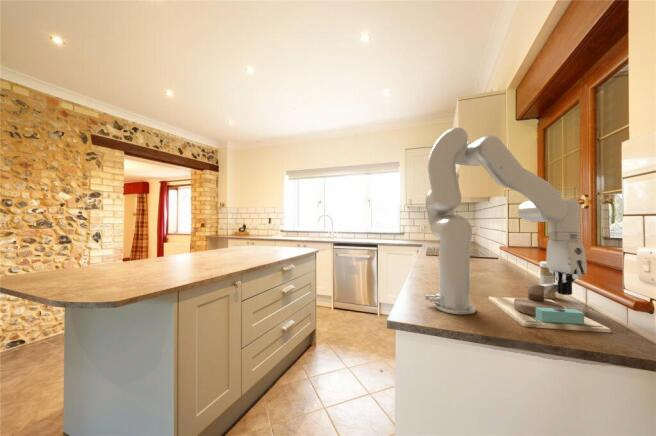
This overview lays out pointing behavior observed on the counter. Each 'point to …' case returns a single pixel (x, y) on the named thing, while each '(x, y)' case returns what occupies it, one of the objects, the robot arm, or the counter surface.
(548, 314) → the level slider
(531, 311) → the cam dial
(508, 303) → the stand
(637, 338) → the counter surface
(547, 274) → the sprinkles bottle
